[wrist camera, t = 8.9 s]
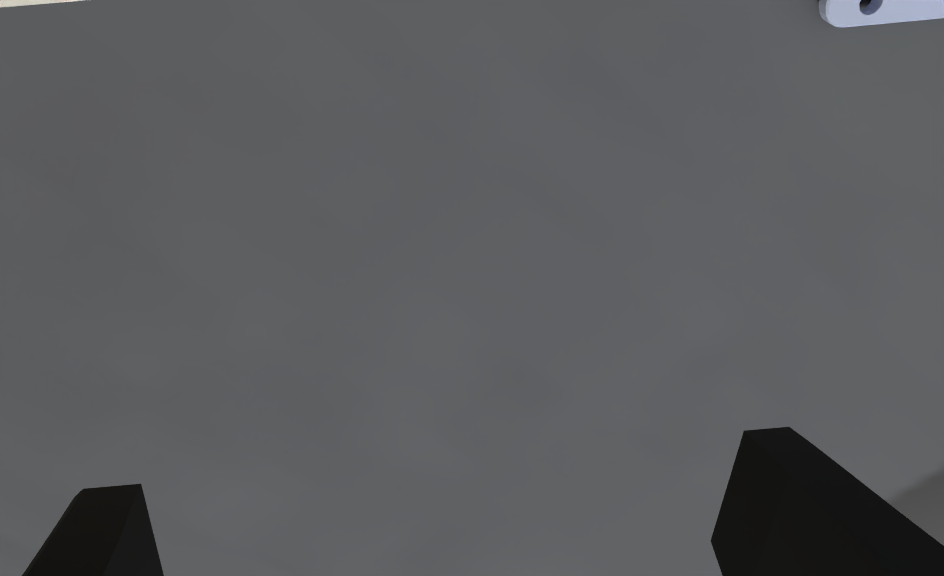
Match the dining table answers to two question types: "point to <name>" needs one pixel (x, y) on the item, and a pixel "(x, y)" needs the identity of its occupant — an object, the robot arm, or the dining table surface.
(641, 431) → the dining table surface
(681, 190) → the dining table surface
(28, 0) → the board
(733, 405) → the dining table surface
